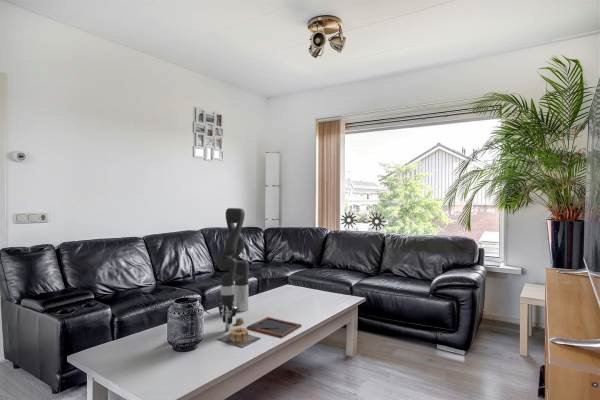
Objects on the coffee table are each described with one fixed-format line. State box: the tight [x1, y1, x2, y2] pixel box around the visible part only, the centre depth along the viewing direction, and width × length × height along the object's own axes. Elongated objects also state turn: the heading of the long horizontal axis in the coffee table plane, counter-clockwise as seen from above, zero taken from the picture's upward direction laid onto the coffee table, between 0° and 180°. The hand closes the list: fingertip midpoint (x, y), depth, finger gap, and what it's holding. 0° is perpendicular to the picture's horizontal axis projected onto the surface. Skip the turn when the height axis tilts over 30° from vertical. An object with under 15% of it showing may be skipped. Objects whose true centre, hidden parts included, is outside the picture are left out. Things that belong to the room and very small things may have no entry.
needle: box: [224, 310, 231, 332], centre depth 198 cm, size 2×2×12 cm
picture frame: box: [246, 316, 302, 339], centre depth 203 cm, size 20×2×25 cm
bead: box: [235, 317, 245, 326], centre depth 209 cm, size 4×4×3 cm
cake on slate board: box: [217, 327, 261, 349], centre depth 186 cm, size 18×14×4 cm
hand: (227, 322), depth 198 cm, fingers open, 3 cm apart
